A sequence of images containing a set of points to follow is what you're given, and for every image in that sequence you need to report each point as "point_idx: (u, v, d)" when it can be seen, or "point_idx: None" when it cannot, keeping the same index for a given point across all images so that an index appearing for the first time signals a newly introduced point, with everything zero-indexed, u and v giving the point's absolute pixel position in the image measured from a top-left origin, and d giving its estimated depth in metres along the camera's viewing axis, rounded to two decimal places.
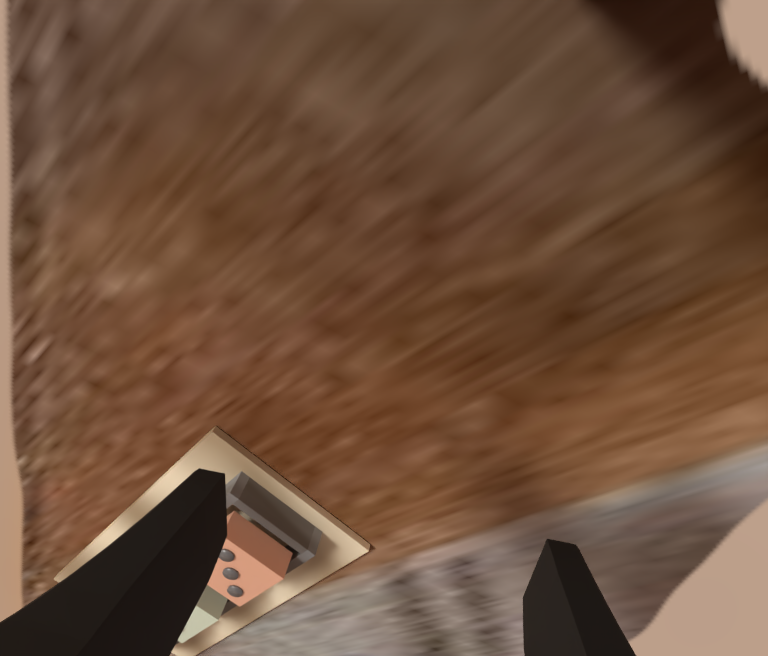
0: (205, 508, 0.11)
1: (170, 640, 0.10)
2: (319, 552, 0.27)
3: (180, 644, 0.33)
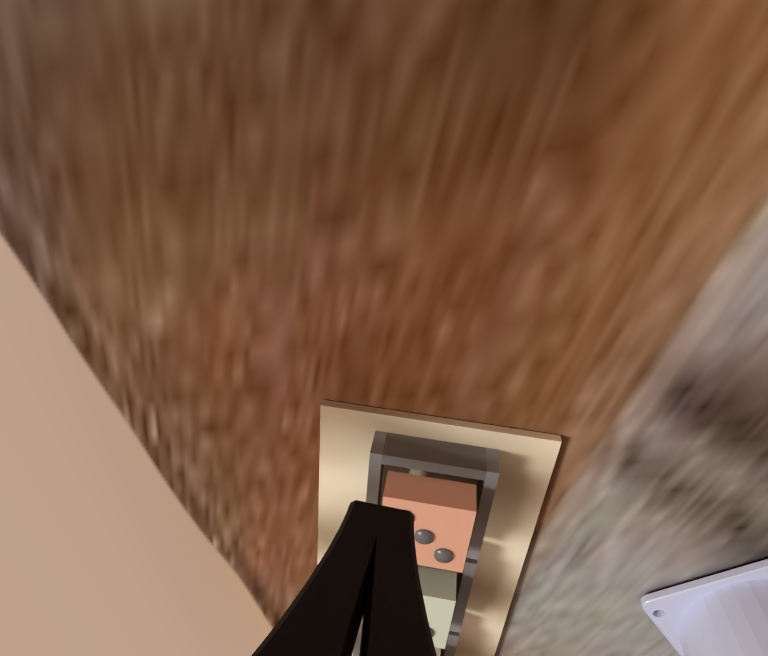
0: (375, 543, 0.10)
1: None
2: (513, 476, 0.22)
3: None
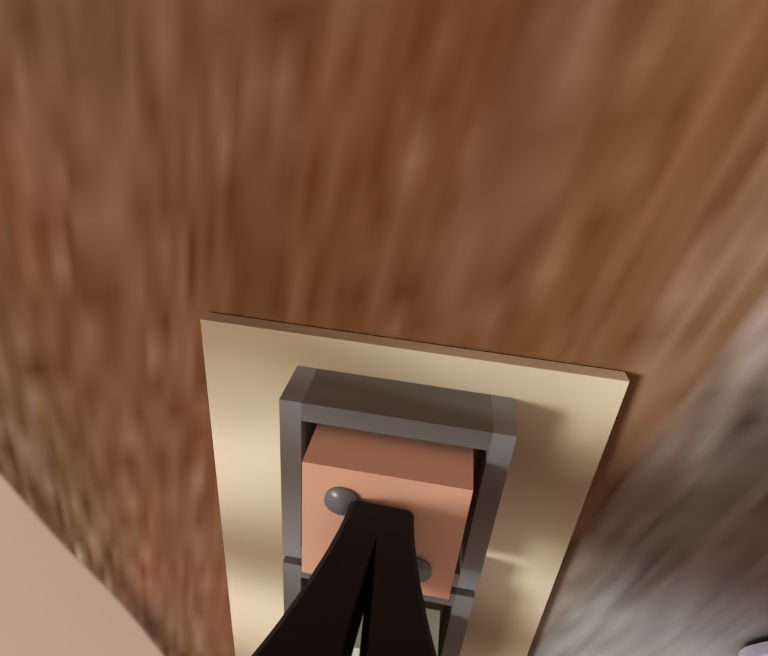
0: (375, 544, 0.10)
1: None
2: (537, 446, 0.13)
3: None
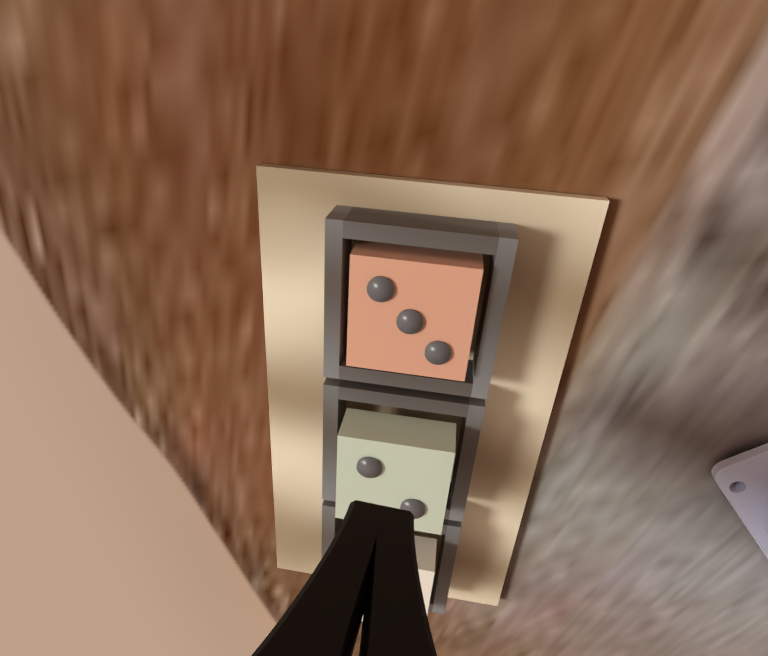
0: (375, 543, 0.10)
1: None
2: (536, 269, 0.15)
3: (472, 580, 0.22)
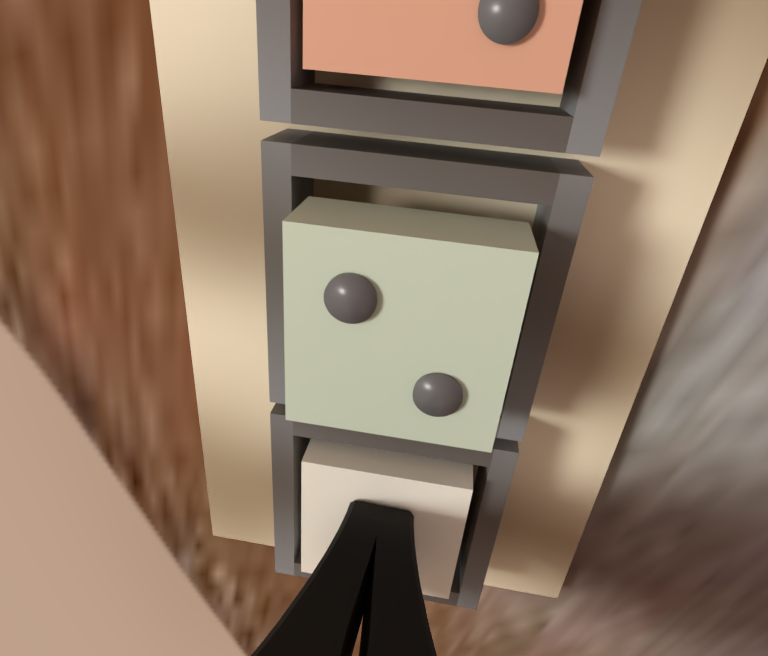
0: (375, 544, 0.10)
1: None
2: None
3: (520, 557, 0.14)
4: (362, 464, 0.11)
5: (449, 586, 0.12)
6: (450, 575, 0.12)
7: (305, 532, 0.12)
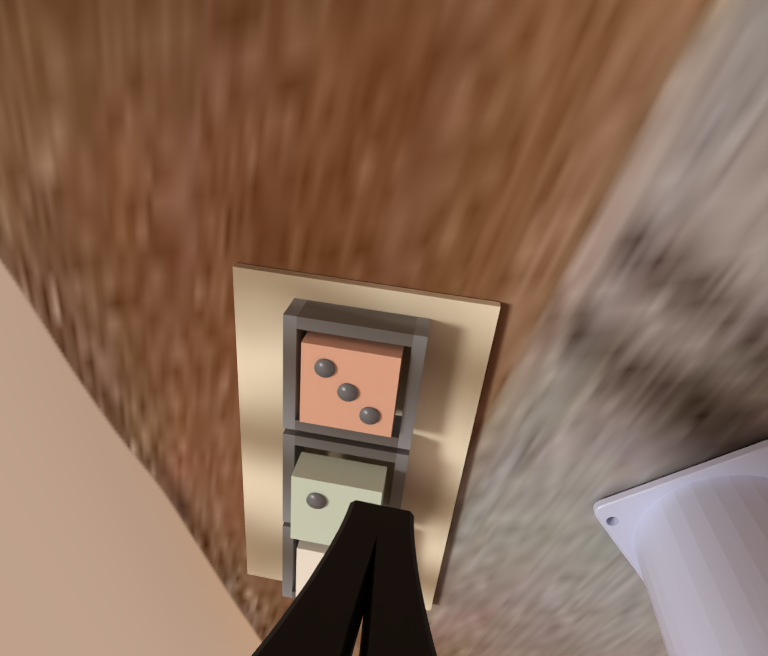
0: (375, 544, 0.10)
1: None
2: (448, 352, 0.20)
3: None
4: (324, 549, 0.24)
5: None
6: None
7: (298, 578, 0.25)
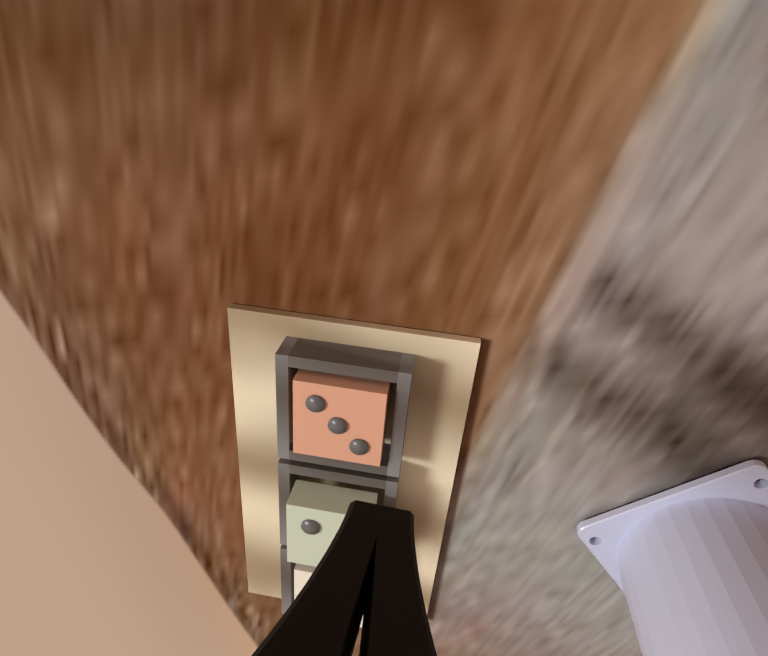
0: (375, 544, 0.10)
1: None
2: (433, 385, 0.21)
3: None
4: None
5: None
6: None
7: None
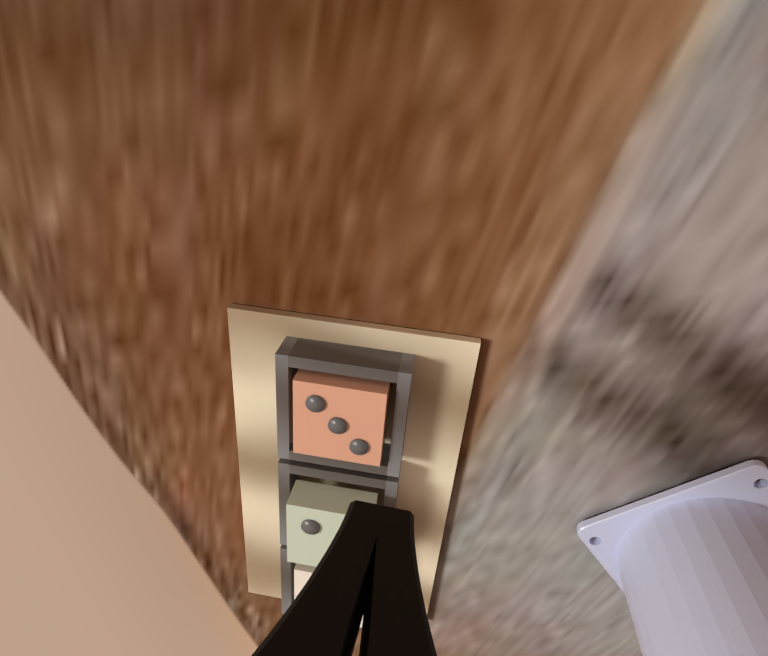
0: (375, 544, 0.10)
1: None
2: (433, 385, 0.21)
3: None
4: None
5: None
6: None
7: None
